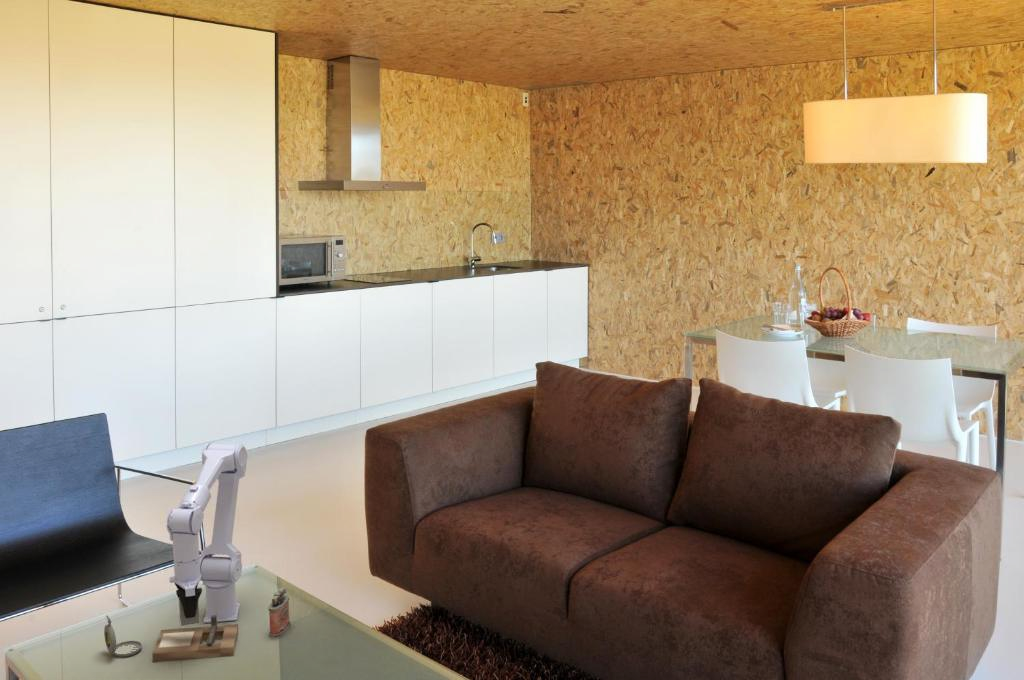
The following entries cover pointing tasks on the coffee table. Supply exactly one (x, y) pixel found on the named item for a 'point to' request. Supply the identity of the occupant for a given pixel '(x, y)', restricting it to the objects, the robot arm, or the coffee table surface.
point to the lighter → (279, 614)
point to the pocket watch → (112, 646)
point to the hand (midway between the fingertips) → (189, 613)
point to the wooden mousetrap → (196, 642)
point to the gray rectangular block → (188, 620)
